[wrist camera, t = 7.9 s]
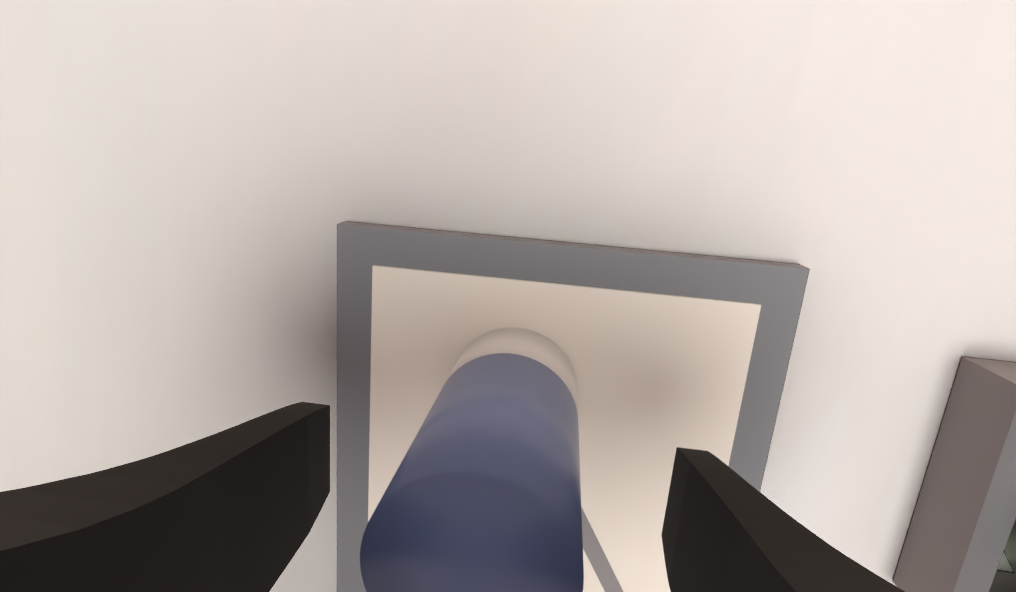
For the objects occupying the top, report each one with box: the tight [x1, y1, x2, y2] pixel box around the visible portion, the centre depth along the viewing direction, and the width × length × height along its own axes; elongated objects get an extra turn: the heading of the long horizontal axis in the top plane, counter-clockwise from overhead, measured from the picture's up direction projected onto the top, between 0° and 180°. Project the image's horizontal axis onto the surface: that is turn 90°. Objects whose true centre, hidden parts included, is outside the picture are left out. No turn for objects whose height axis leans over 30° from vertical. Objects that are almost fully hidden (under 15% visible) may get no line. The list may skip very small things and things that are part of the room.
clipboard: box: [337, 221, 810, 592], centre depth 16 cm, size 16×12×2 cm
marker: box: [360, 328, 584, 592], centre depth 12 cm, size 3×3×7 cm
